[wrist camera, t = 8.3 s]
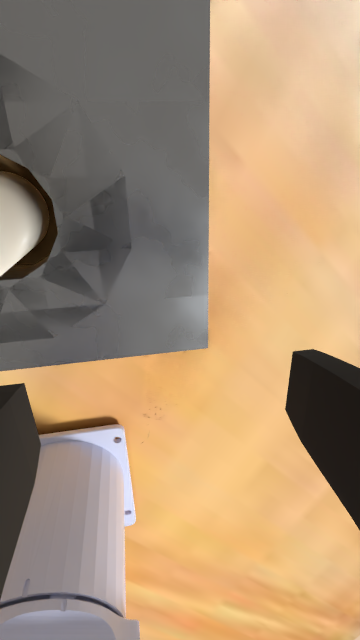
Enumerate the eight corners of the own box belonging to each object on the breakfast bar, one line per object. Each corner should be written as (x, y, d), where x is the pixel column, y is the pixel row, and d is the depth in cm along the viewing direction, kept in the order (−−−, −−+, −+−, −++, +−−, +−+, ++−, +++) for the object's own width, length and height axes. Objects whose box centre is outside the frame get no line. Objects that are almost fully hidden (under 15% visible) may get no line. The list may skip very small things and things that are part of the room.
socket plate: (197, 328, 19) (207, 347, 17) (-142, 363, 17) (-180, 391, 15) (195, 26, 14) (209, -1, 11) (-323, 12, 11) (-429, -26, 9)
